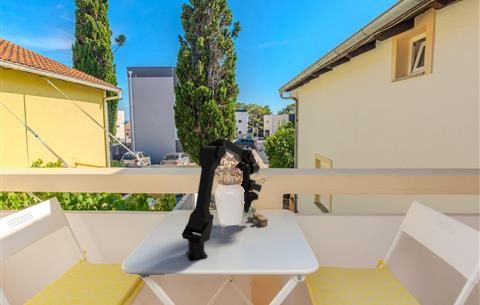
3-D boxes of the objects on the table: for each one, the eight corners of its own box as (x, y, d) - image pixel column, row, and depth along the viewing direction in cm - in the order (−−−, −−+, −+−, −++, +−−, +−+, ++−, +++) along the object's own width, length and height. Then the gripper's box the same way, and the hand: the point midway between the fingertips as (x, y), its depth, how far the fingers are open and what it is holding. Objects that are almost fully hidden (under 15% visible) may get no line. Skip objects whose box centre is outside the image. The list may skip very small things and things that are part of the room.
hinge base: (267, 225, 131) (267, 219, 130) (254, 227, 128) (255, 221, 128) (257, 218, 140) (257, 212, 139) (245, 220, 137) (245, 214, 137)
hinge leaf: (258, 214, 130) (258, 207, 129) (241, 216, 126) (241, 210, 126) (251, 209, 136) (251, 203, 136) (235, 211, 133) (235, 205, 132)
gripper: (269, 179, 123) (268, 214, 125) (251, 172, 140) (250, 202, 142) (246, 181, 119) (245, 217, 121) (229, 173, 136) (229, 205, 138)
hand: (243, 210), depth 130 cm, fingers closed on hinge leaf, 7 cm apart
